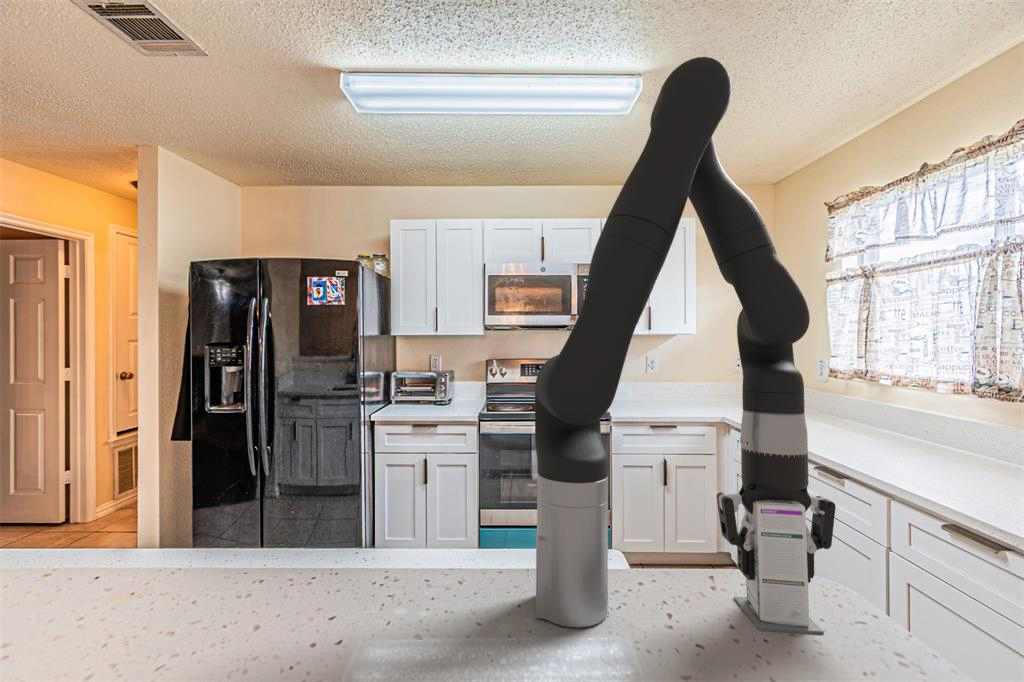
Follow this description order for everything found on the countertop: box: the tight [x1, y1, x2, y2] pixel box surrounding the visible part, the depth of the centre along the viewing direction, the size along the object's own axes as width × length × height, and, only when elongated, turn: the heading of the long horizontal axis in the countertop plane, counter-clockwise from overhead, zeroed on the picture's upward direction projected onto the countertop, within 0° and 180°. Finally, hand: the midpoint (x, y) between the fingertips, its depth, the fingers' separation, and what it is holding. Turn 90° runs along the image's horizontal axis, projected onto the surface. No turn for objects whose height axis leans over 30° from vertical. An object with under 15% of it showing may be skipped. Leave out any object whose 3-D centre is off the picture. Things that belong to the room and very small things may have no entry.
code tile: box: [733, 595, 825, 635], centre depth 58 cm, size 7×7×1 cm
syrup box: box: [744, 500, 810, 627], centre depth 58 cm, size 6×6×14 cm
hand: (775, 578), depth 58 cm, fingers closed on syrup box, 6 cm apart
